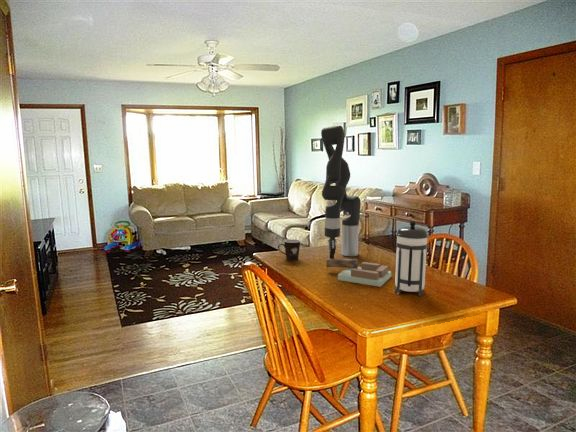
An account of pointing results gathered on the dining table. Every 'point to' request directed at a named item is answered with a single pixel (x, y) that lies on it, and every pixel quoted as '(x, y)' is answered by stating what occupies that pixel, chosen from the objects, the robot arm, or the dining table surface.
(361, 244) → the dining table surface
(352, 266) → the brown rectangular bar
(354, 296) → the dining table surface
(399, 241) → the coffee press
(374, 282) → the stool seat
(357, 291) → the dining table surface
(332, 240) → the robot arm
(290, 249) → the coffee mug
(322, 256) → the dining table surface
